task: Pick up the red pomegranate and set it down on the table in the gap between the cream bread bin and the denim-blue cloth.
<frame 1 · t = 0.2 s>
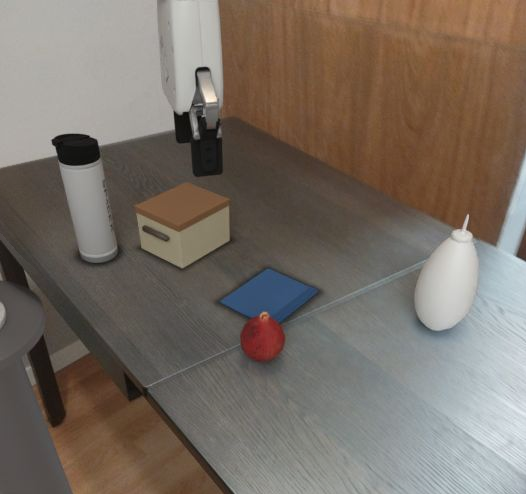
hand: (198, 157, 61), 25 cm above the table, tool pointing down, fingers open, 9 cm apart
bread bin: (186, 244, 94), on the table
red pomegranate: (261, 360, 72), on the table
cloth: (269, 297, 83), on the table
travel mug: (99, 255, 91), on the table
white air blower bulb: (434, 327, 79), on the table
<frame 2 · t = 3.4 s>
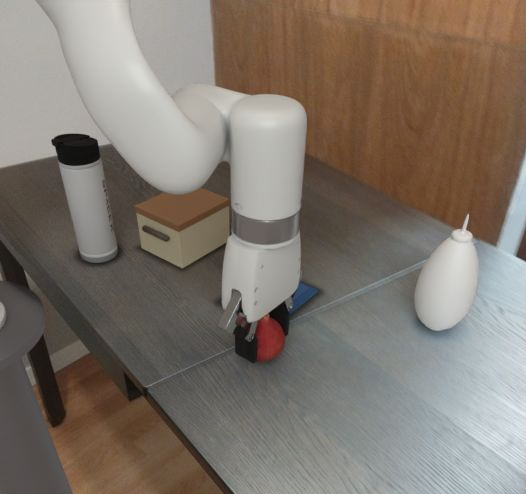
hand: (262, 343, 70), 3 cm above the table, tool pointing down, fingers closed on red pomegranate, 5 cm apart
red pomegranate: (261, 360, 72), on the table, touching gripper
everything else where it was.
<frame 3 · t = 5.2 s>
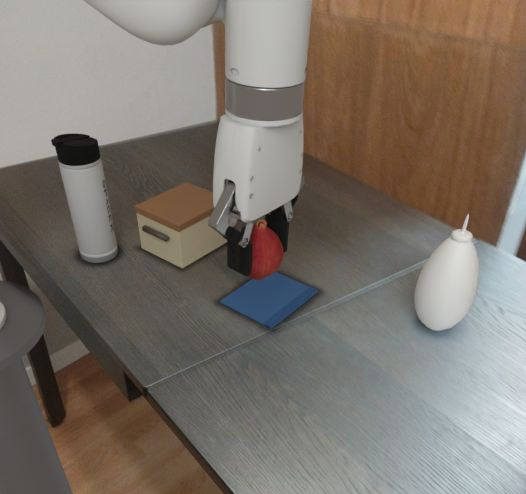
hand: (257, 258, 63), 15 cm above the table, tool pointing down, fingers closed on red pomegranate, 5 cm apart
red pomegranate: (257, 280, 65), point 12 cm above the table, touching gripper
everything else where it was.
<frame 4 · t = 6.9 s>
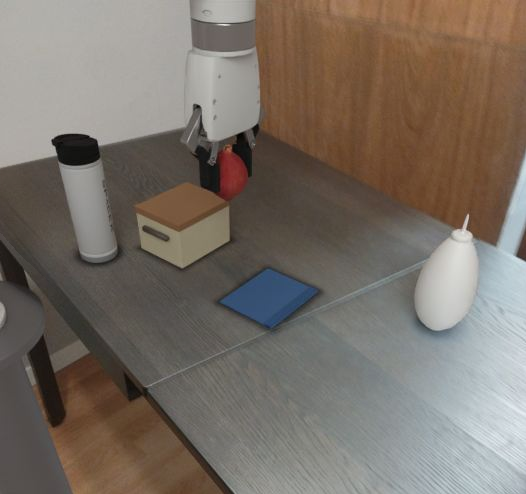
hand: (226, 180, 75), 17 cm above the table, tool pointing down, fingers closed on red pomegranate, 5 cm apart
red pomegranate: (227, 202, 77), point 14 cm above the table, touching gripper
everything else where it was.
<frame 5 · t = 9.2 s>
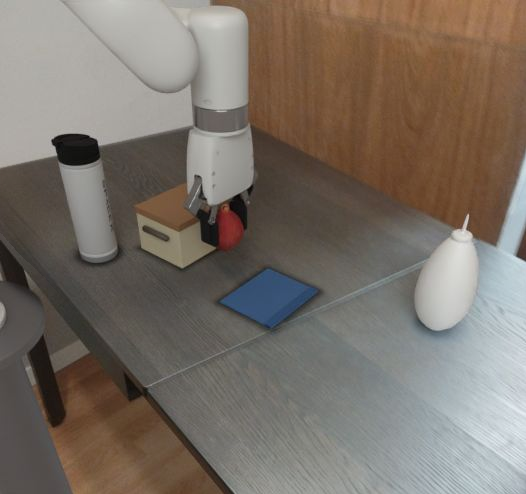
hand: (224, 234, 84), 7 cm above the table, tool pointing down, fingers closed on red pomegranate, 5 cm apart
red pomegranate: (225, 251, 86), point 4 cm above the table, touching gripper
everything else where it was.
when the fingers open (3 cm above the table, at t = 10.7 s): red pomegranate stays where it is, on the table.
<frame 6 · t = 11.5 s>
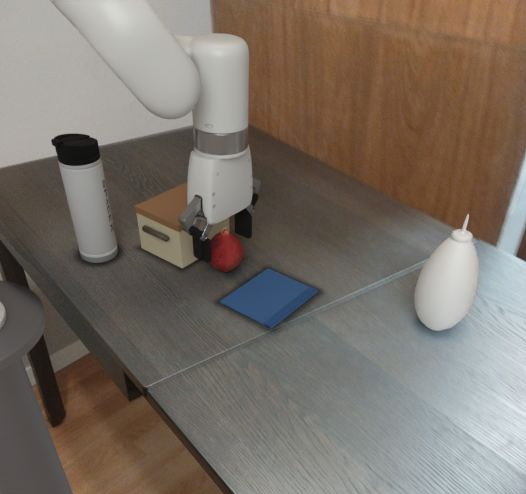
hand: (223, 247, 85), 5 cm above the table, tool pointing down, fingers open, 9 cm apart
red pomegranate: (225, 272, 88), on the table
everything else where it was.
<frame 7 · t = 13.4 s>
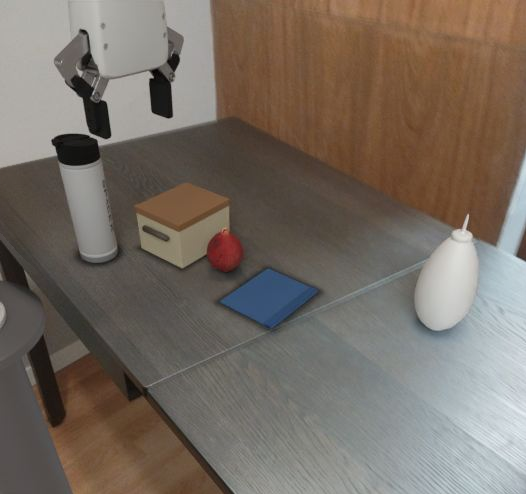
hand: (132, 125, 63), 26 cm above the table, tool pointing down, fingers open, 9 cm apart
nothing on the table moved.
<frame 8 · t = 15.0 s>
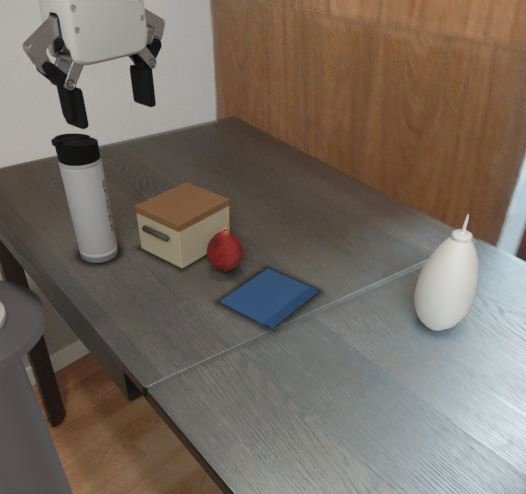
hand: (112, 114, 61), 28 cm above the table, tool pointing down, fingers open, 9 cm apart
nothing on the table moved.
at the end: red pomegranate inside the target area on the table beside the bread bin (0.8 cm from its centre), on the table; the gripper is holding nothing; red pomegranate moved 22.2 cm from its start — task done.
